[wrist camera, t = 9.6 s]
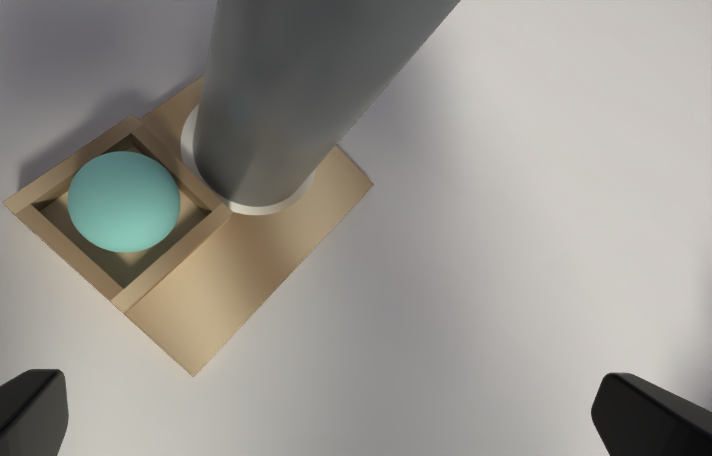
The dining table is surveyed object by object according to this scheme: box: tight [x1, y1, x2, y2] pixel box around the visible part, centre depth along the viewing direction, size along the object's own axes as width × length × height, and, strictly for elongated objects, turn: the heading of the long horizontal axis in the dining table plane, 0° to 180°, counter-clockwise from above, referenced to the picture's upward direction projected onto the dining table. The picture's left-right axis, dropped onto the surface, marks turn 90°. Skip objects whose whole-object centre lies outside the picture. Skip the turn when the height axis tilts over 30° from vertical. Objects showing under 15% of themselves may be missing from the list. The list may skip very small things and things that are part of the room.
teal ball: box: [67, 151, 180, 253], centre depth 15 cm, size 3×3×3 cm
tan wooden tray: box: [2, 75, 374, 377], centre depth 17 cm, size 10×8×2 cm
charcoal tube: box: [192, 0, 460, 207], centre depth 12 cm, size 5×5×14 cm
